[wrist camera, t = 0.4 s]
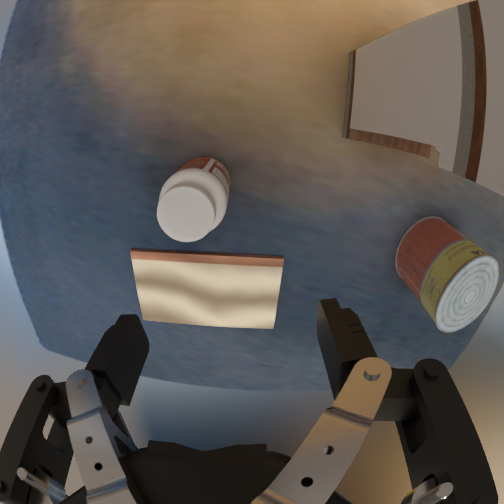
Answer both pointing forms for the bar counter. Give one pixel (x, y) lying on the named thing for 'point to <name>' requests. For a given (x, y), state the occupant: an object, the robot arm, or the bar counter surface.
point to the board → (207, 287)
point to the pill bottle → (194, 199)
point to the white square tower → (436, 90)
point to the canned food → (446, 272)
